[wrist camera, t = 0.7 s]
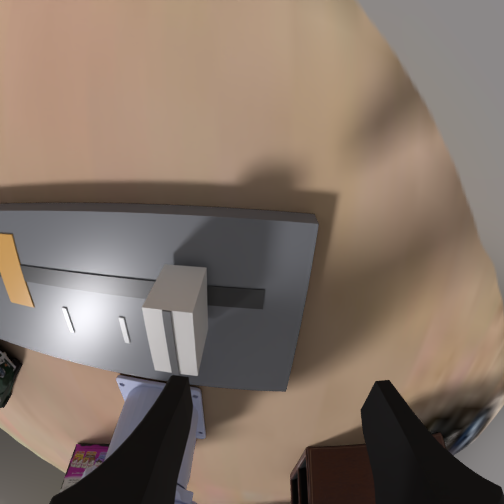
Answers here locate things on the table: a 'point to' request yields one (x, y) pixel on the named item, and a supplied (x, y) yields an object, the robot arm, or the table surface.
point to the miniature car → (7, 377)
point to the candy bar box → (83, 462)
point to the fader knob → (177, 319)
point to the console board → (143, 278)
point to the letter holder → (335, 475)
